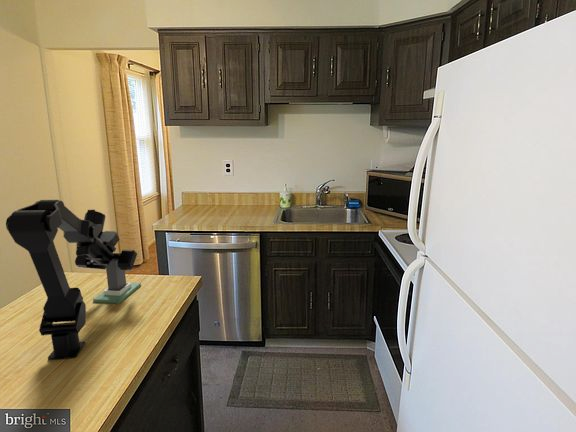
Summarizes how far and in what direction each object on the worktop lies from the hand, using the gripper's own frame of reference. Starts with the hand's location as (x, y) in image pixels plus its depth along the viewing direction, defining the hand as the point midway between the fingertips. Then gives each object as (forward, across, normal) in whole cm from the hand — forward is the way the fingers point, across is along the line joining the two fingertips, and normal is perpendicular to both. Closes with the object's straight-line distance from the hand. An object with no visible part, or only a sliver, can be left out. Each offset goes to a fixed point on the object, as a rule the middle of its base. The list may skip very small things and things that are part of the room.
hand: (118, 268), depth 122 cm
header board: (+5, 0, +7) cm, 9 cm away
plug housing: (+4, 0, +6) cm, 8 cm away
